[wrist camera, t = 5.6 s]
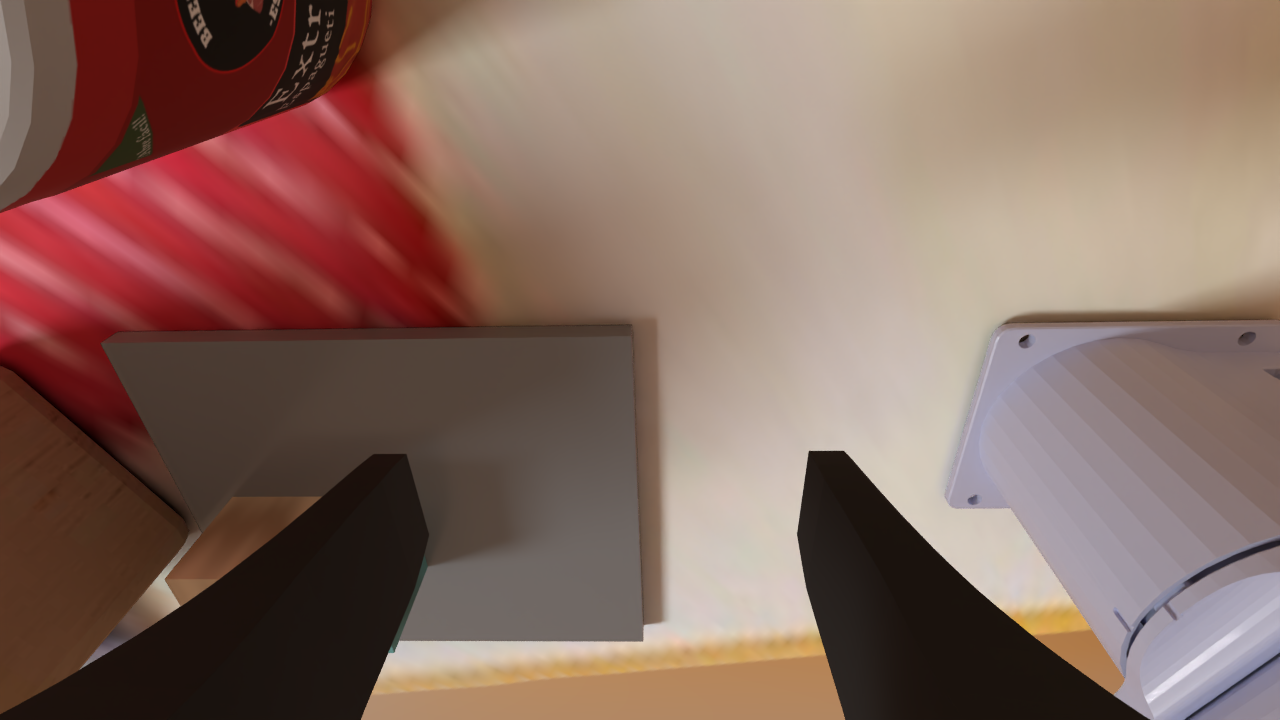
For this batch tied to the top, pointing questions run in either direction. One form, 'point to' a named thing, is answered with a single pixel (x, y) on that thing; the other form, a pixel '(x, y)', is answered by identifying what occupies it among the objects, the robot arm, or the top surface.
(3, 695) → the block
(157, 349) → the slate board
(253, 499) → the beech block
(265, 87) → the canned food
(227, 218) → the top surface
